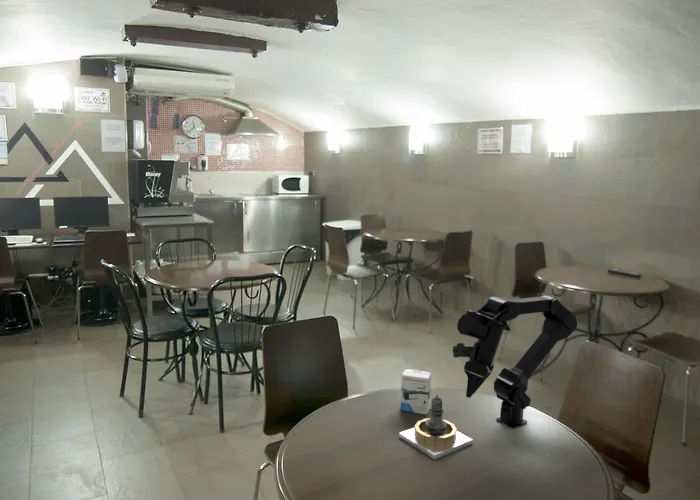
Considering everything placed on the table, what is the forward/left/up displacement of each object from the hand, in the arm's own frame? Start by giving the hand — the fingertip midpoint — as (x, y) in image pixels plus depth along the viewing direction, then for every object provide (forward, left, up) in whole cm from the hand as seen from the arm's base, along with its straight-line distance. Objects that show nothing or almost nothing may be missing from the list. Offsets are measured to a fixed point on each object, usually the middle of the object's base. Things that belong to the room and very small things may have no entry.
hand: (470, 394), depth 153 cm
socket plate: (+11, -2, -11) cm, 16 cm away
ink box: (+3, -19, -12) cm, 23 cm away
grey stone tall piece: (+10, -2, -10) cm, 15 cm away
